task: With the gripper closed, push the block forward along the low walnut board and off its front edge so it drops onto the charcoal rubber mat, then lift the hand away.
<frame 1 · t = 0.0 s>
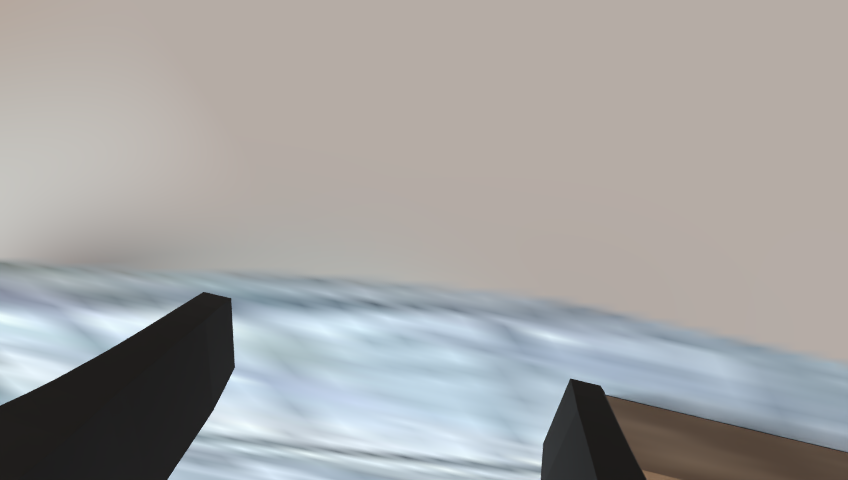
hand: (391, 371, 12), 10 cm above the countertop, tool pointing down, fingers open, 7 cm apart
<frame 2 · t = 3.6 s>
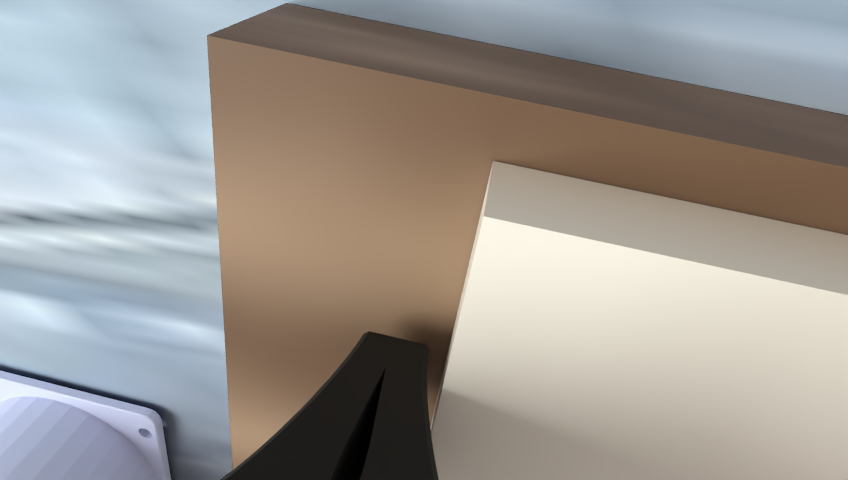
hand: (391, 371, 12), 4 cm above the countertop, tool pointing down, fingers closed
block: (602, 403, 12), point 4 cm above the countertop
board: (502, 310, 16), on the countertop
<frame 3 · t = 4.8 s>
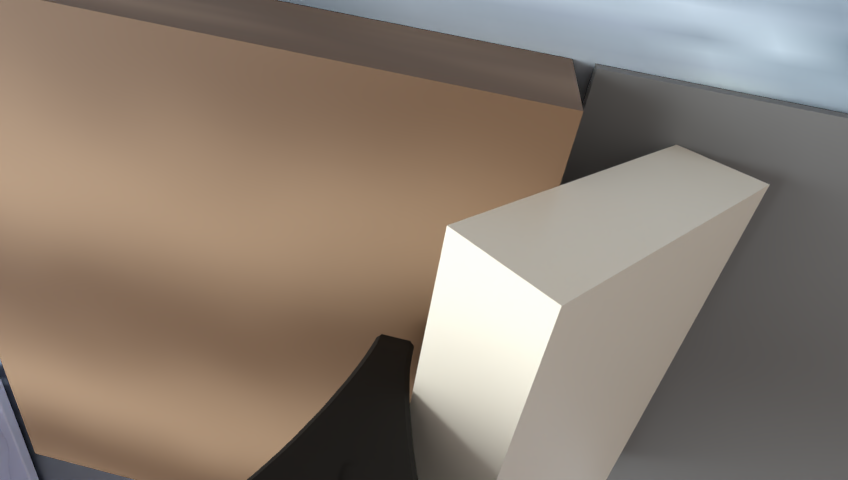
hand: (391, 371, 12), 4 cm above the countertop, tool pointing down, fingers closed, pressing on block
mat: (768, 370, 15), on the countertop
block: (518, 372, 13), point 3 cm above the countertop, tilted 52°, touching gripper, mat
board: (279, 257, 16), on the countertop
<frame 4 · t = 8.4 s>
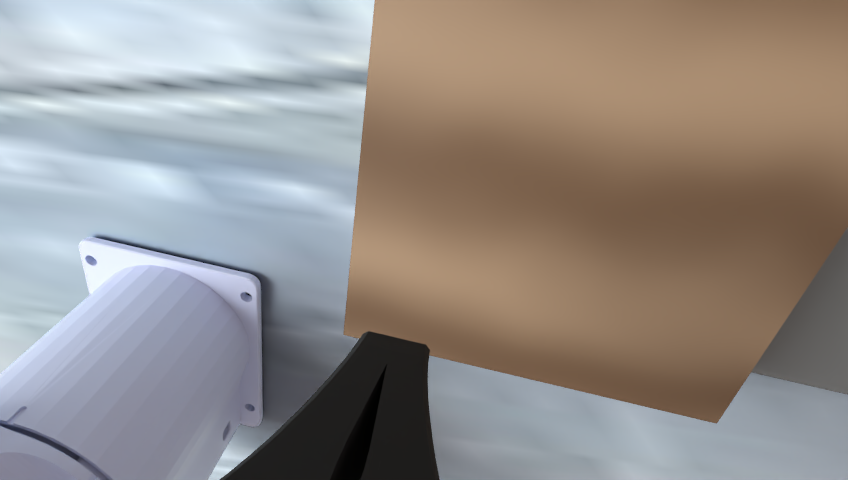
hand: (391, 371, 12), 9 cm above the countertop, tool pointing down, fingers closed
board: (580, 152, 18), on the countertop
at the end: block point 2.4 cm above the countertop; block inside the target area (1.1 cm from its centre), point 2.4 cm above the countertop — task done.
